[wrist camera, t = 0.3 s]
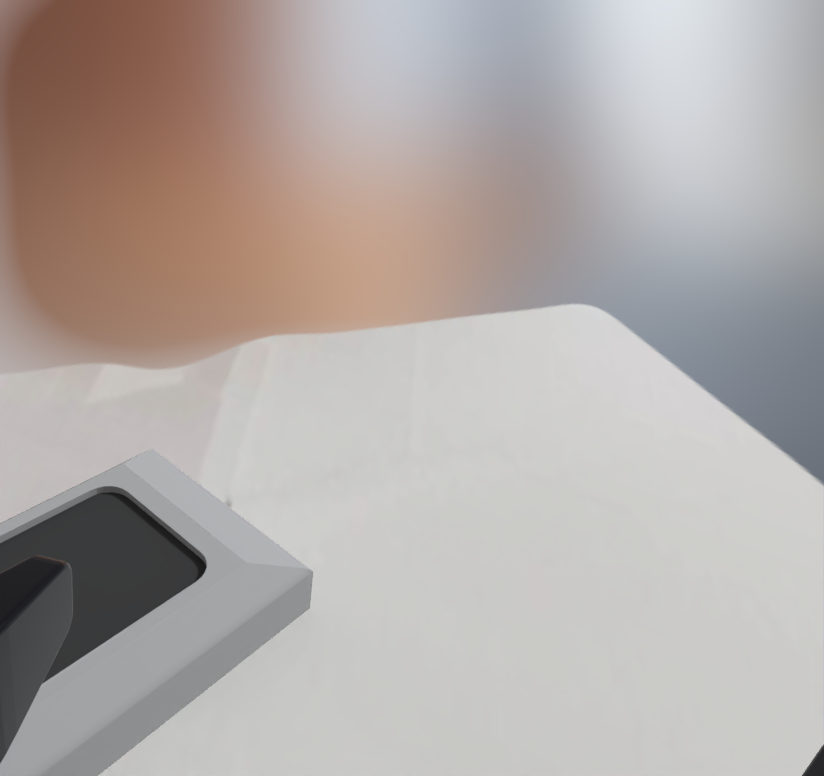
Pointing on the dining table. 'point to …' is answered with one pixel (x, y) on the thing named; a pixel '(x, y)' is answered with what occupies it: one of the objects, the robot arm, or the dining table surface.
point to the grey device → (143, 609)
